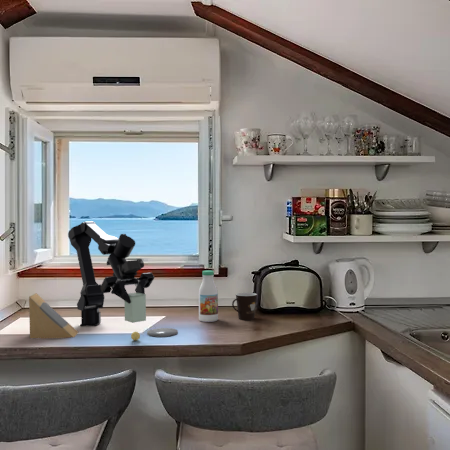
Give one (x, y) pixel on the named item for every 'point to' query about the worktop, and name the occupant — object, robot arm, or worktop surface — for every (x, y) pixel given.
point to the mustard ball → (135, 336)
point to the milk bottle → (208, 298)
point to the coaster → (162, 332)
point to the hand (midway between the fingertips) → (137, 301)
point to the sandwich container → (47, 321)
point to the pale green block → (136, 308)
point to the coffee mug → (245, 305)
